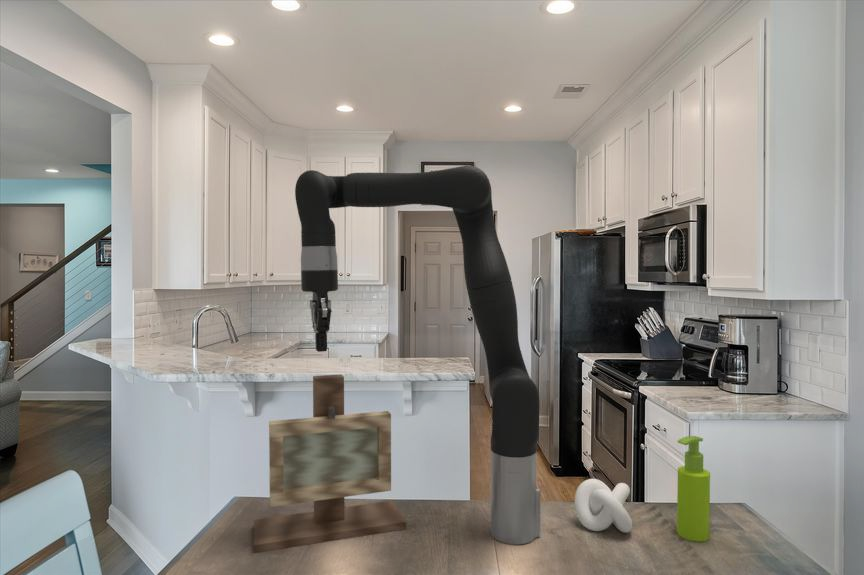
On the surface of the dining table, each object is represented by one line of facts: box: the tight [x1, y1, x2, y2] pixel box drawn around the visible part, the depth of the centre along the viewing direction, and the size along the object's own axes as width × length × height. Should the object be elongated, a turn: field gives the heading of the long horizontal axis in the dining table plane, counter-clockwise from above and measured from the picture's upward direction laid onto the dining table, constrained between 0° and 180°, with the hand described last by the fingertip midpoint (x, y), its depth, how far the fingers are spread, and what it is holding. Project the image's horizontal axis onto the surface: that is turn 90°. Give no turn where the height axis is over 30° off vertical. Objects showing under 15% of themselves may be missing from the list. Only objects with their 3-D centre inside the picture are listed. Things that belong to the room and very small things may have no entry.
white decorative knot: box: [573, 478, 633, 534], centre depth 112 cm, size 11×12×9 cm
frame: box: [268, 406, 392, 508], centre depth 108 cm, size 24×2×18 cm, turn 109°
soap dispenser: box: [676, 435, 711, 543], centre depth 109 cm, size 6×7×20 cm
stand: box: [253, 373, 407, 554], centre depth 111 cm, size 30×11×32 cm, turn 109°
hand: (321, 350), depth 113 cm, fingers closed
